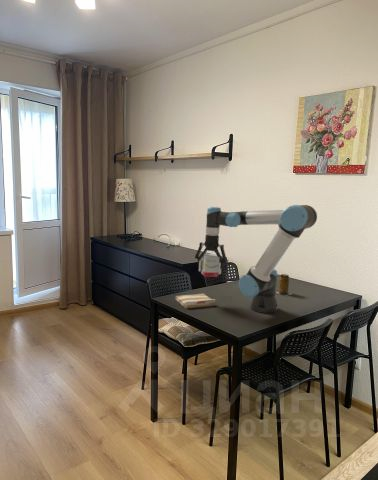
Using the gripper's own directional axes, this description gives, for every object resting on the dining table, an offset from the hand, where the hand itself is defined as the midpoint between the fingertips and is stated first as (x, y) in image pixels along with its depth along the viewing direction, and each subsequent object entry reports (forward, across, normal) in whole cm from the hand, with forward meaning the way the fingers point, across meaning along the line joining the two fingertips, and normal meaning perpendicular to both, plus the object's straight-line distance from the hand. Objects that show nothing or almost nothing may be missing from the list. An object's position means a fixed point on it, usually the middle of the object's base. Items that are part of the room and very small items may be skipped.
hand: (209, 272), depth 212 cm
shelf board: (+17, +6, +5) cm, 19 cm away
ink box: (+2, 0, 0) cm, 2 cm away
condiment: (+17, -38, -39) cm, 58 cm away
